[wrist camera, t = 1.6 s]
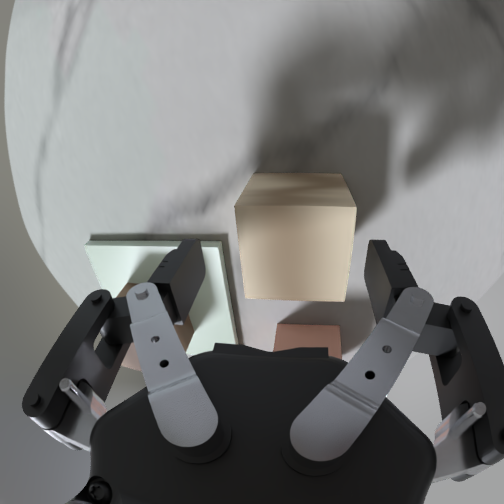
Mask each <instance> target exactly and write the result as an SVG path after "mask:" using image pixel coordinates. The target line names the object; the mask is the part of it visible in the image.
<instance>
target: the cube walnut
mask: <svg viewBox="0 0 504 504" xmlns="http://www.w3.org/2000/svg"><path fill="white" fill-rule="evenodd" d="M137 284H138V283H128V282H127V284H126V285H125V286H124V287H123V289H122V290H121V291H120V293H119V294H118V295H117V297H116V298H118V297H124V296H126V295H127V293H128V291H129V290H130V289H131V288H132V287H134V286H135V285H137ZM174 329H175V331H176V333H177V335H178V337H179V340H180V342H181V344H182V346H183V348H184V350H185V352H186V351H187V349H188V346H189V344H190V342H191V339H192V337H193V334H194V329H193V326H192V323H191V320H190V317H189V314H188V316H187V318H186V321H185V323H184V325H177V324H174ZM121 365H122V366H124V367H127V368H131V369H135V370H138V371H142V370H141V366H140V363H139V359H138V356H137V352H136V348H135V345H134V343H131V345H130V347H129V349H128V351H127V353H126V355H125V358H124V360H123V362H122V364H121Z"/></svg>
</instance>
